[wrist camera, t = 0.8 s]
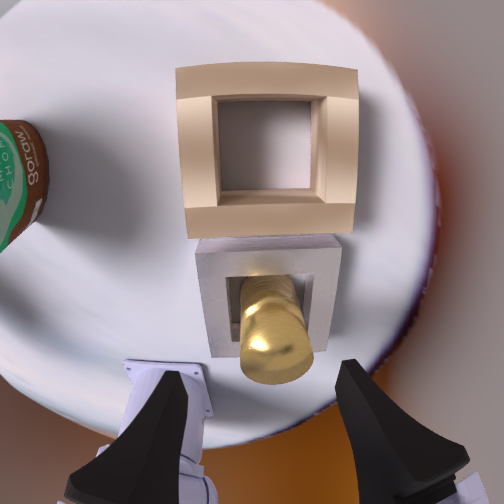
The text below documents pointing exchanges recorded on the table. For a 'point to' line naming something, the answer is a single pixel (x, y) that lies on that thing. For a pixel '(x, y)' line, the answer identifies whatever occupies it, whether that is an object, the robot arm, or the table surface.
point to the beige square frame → (269, 200)
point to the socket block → (267, 263)
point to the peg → (272, 331)
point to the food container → (21, 178)
